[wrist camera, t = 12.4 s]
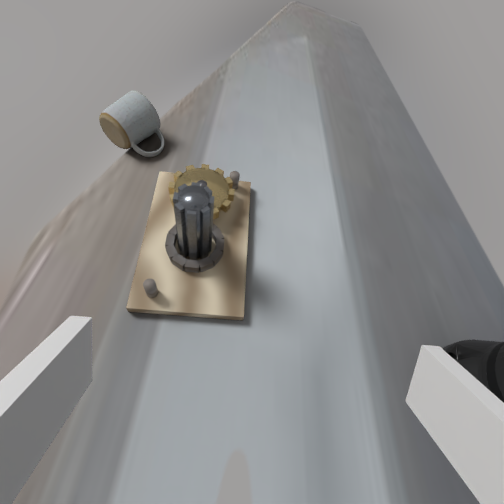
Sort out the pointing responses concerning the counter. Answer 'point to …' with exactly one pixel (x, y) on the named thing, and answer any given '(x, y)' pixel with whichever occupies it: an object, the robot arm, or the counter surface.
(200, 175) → the gear
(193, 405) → the counter surface
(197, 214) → the pinion
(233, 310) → the board
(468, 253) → the counter surface
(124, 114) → the ceramic mug
